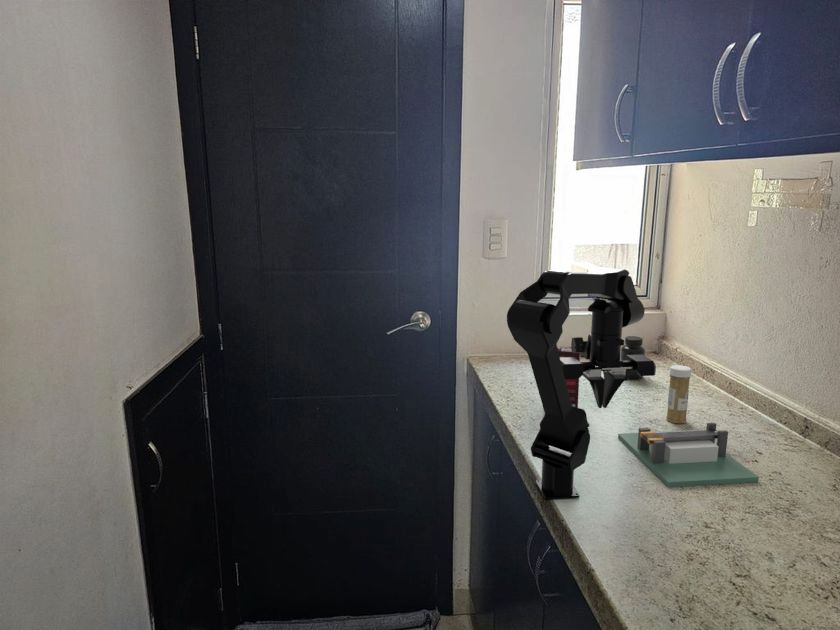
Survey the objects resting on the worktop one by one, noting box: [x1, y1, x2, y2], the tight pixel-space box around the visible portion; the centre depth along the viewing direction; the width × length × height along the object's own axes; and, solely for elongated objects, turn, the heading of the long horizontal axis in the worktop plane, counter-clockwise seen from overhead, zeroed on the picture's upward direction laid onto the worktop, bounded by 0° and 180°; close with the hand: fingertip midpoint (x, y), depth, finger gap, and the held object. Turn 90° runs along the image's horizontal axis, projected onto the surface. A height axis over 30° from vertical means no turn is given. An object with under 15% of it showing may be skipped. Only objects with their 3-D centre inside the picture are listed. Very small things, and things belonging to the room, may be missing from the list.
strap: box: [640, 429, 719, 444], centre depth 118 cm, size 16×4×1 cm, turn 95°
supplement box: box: [557, 346, 581, 408], centre depth 145 cm, size 9×5×16 cm, turn 74°
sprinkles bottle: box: [666, 364, 692, 424], centre depth 137 cm, size 5×5×13 cm
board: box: [617, 422, 760, 488], centre depth 118 cm, size 22×18×6 cm
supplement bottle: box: [620, 335, 646, 381], centre depth 169 cm, size 7×7×12 cm
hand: (601, 407), depth 115 cm, fingers closed
